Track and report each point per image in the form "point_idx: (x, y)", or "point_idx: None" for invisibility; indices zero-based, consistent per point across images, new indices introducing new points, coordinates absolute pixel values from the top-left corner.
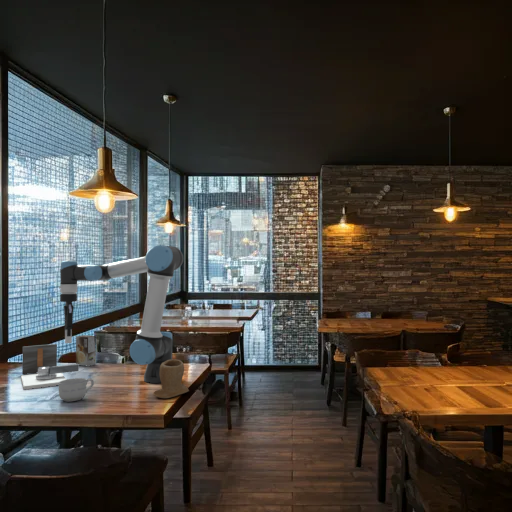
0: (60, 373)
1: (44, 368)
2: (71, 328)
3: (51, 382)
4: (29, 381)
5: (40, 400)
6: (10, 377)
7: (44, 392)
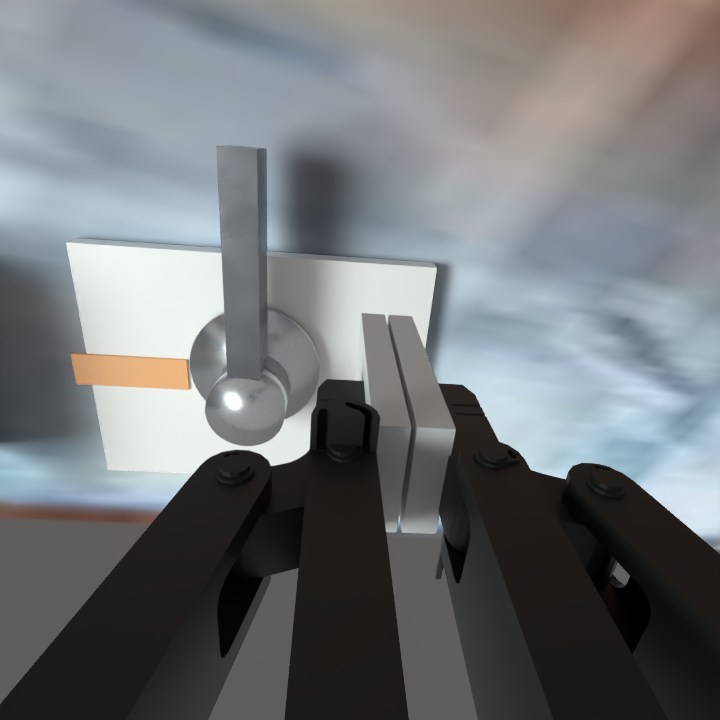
0: (151, 260)
1: (277, 413)
2: (515, 458)
3: None
4: (304, 450)
5: (671, 433)
6: (56, 497)
7: (533, 399)
